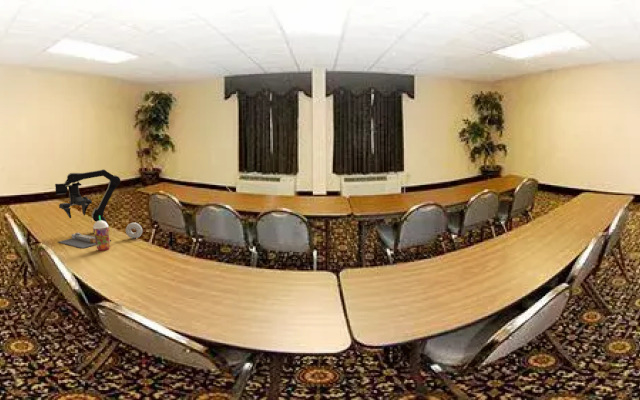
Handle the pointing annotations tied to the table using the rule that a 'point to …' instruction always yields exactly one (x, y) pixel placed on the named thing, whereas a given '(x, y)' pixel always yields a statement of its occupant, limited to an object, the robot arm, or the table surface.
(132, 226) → the donut
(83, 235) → the tong fixed arm
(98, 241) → the smoothie
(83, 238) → the tong moving arm
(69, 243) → the rubber mat
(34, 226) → the table surface
